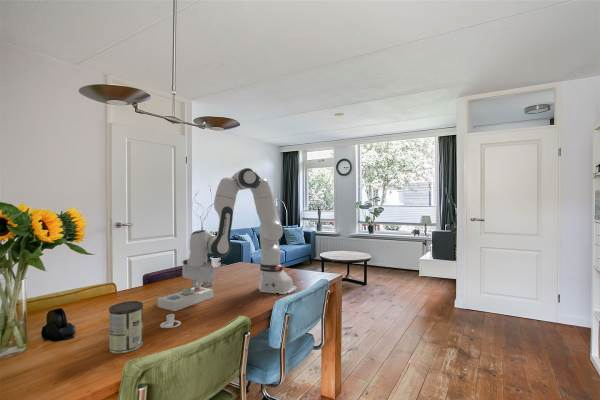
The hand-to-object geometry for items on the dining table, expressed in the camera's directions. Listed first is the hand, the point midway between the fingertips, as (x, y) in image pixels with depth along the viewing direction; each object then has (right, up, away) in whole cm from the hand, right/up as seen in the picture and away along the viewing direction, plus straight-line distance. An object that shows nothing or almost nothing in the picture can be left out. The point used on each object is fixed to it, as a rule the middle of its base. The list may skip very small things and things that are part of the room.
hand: (198, 288), depth 161 cm
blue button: (-7, -3, -13) cm, 15 cm away
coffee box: (-4, -5, +20) cm, 21 cm away
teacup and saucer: (-2, -6, -36) cm, 37 cm away
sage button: (-3, -2, -6) cm, 8 cm away
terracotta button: (0, -3, 0) cm, 3 cm away
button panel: (-3, -5, -6) cm, 9 cm away
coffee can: (-7, -5, -54) cm, 55 cm away
